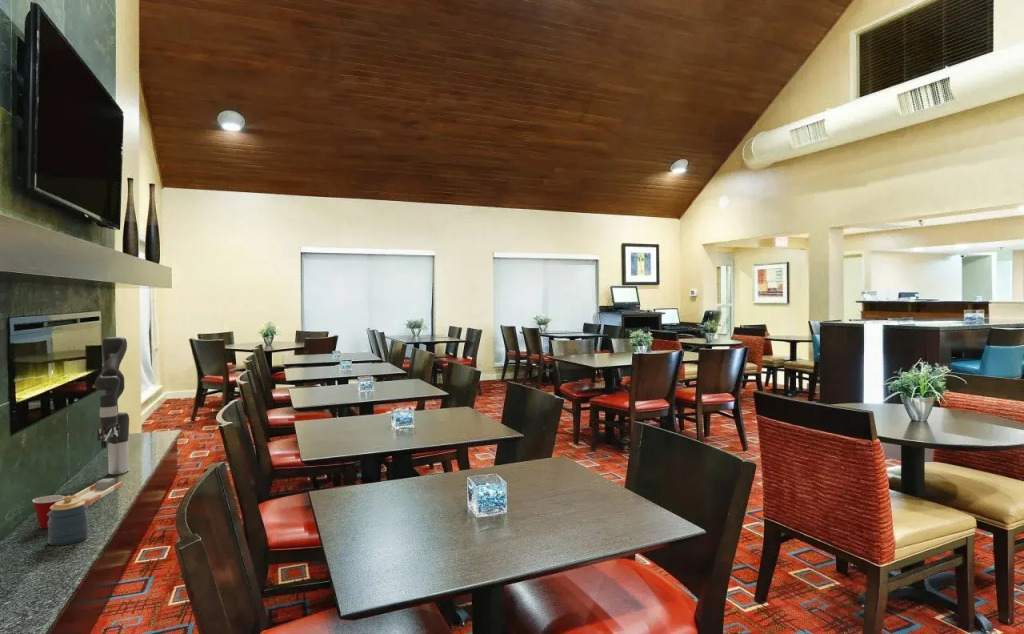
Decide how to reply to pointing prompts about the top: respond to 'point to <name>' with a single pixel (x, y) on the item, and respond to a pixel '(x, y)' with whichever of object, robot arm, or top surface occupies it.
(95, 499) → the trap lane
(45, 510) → the plastic cup
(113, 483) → the slate block
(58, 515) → the canister
